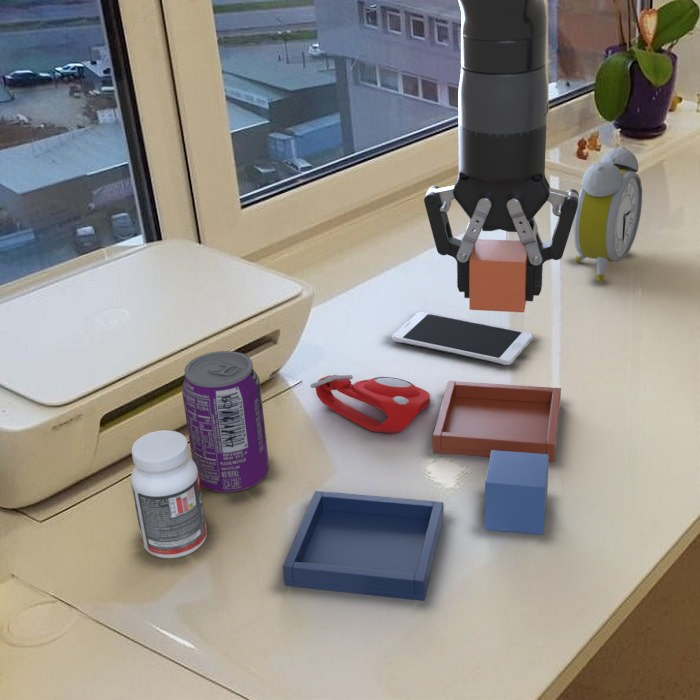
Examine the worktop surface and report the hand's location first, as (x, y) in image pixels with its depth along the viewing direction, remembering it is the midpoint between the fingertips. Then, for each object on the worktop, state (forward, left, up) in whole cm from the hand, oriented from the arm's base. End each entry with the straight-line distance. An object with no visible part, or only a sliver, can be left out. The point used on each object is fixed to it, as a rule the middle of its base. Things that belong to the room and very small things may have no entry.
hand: (499, 295), depth 100 cm
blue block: (-3, +14, -15) cm, 20 cm away
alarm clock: (-9, -41, -15) cm, 45 cm away
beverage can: (+24, +12, -15) cm, 31 cm away
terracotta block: (0, 0, 0) cm, 0 cm away
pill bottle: (+26, +22, -15) cm, 37 cm away
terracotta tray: (0, 0, -15) cm, 15 cm away
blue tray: (+9, +21, -15) cm, 27 cm away
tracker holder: (+13, -2, -15) cm, 20 cm away
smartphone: (+6, -18, -15) cm, 24 cm away
